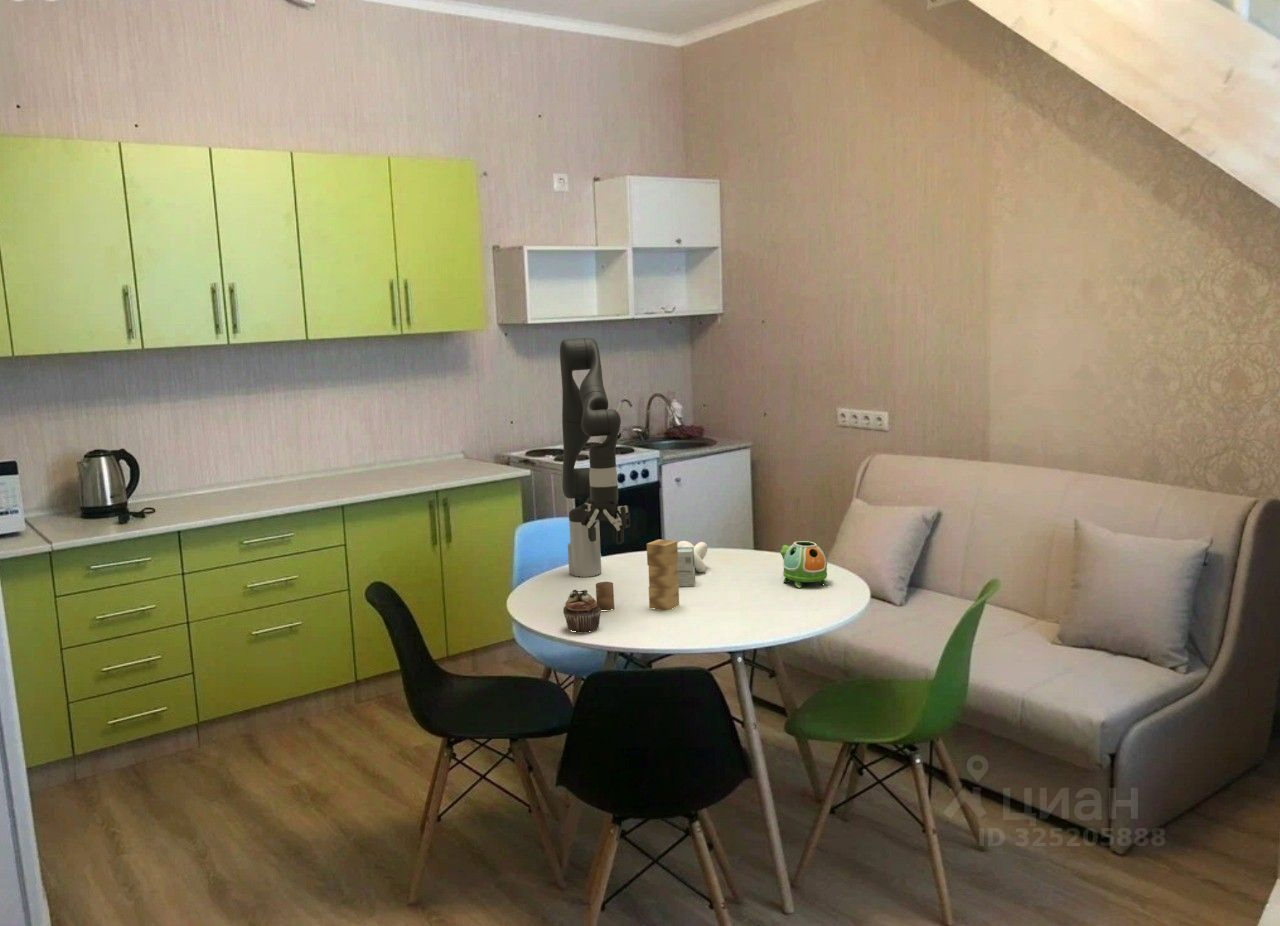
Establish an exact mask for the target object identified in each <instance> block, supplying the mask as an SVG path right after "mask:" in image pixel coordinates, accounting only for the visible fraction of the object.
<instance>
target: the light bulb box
mask: <svg viewBox="0 0 1280 926" xmlns="http://www.w3.org/2000/svg"><path fill="white" fill-rule="evenodd" d="M693 546H694V545H693ZM693 546H691V547H678V563H677V574H678V584H679V586H685V587H695V583H696V568H695V563H694V547H695V546H694V547H693Z"/></svg>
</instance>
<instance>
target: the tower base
mask: <svg viewBox="0 0 1280 926" xmlns="http://www.w3.org/2000/svg"><path fill="white" fill-rule="evenodd" d="M679 588H680V587H679V584H676V585H675V586H674V587H672V588H671V589H661V588H649V587H648V598H649V599H648V603H649V604H648V605H649V608H655V609H654V610H657V609H661V610H660V611H665V610H670V609H671V610H673V609H675V608H677V607H679V606H680V592H679V590H680V589H679ZM678 605H679V606H678ZM676 606H677V607H676ZM674 607H675V608H674ZM672 608H673V609H672ZM671 610H670V611H671Z"/></svg>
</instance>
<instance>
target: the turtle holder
mask: <svg viewBox="0 0 1280 926" xmlns="http://www.w3.org/2000/svg"><path fill="white" fill-rule="evenodd" d="M780 554H781V556H782V559H783V560H782V566H783V572H782V574H783V576H784V579H783V581H782V583H783V582H788V581H789V582H790V581H792V582H794V587H795V586H796V587H798V588H797V589H802V588H801V587H802V584H801V583H815V582H820V584H821V585H822V584H824V585H825V586H828V583H827V580H826V578H827V577H828V572H827V571H828V560H827V558H826V555H825V553H824V551H823V550H822V548H821V547H820V546H819V545H818V544H817V543H815V542H813V541H809V540H800V541H794V542H793V543H792V544H791V545H787V544H784V545H782V547H781V549H780ZM789 582H788V583H789ZM824 585H823V586H824ZM796 587H795V588H796Z"/></svg>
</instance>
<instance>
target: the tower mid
mask: <svg viewBox="0 0 1280 926" xmlns="http://www.w3.org/2000/svg"><path fill="white" fill-rule="evenodd" d="M676 584H678V574H677V563H676V564H674V565H672V566H669V567H667V568H664V567H656V566H648V589H649V588H661V589H671V588H672V587H674V586H675V585H676Z"/></svg>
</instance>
